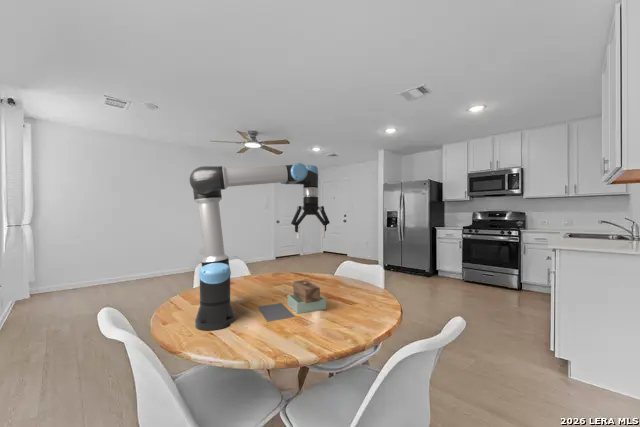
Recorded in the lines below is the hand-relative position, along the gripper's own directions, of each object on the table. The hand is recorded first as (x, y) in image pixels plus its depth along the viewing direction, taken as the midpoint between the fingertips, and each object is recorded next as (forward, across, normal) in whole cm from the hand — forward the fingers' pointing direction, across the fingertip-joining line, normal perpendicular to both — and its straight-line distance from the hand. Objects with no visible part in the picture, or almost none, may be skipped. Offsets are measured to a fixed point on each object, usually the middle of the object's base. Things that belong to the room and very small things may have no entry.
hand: (311, 238), depth 138 cm
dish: (+32, -6, -8) cm, 33 cm away
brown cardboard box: (+27, -6, -8) cm, 29 cm away
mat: (+32, -21, -8) cm, 39 cm away
